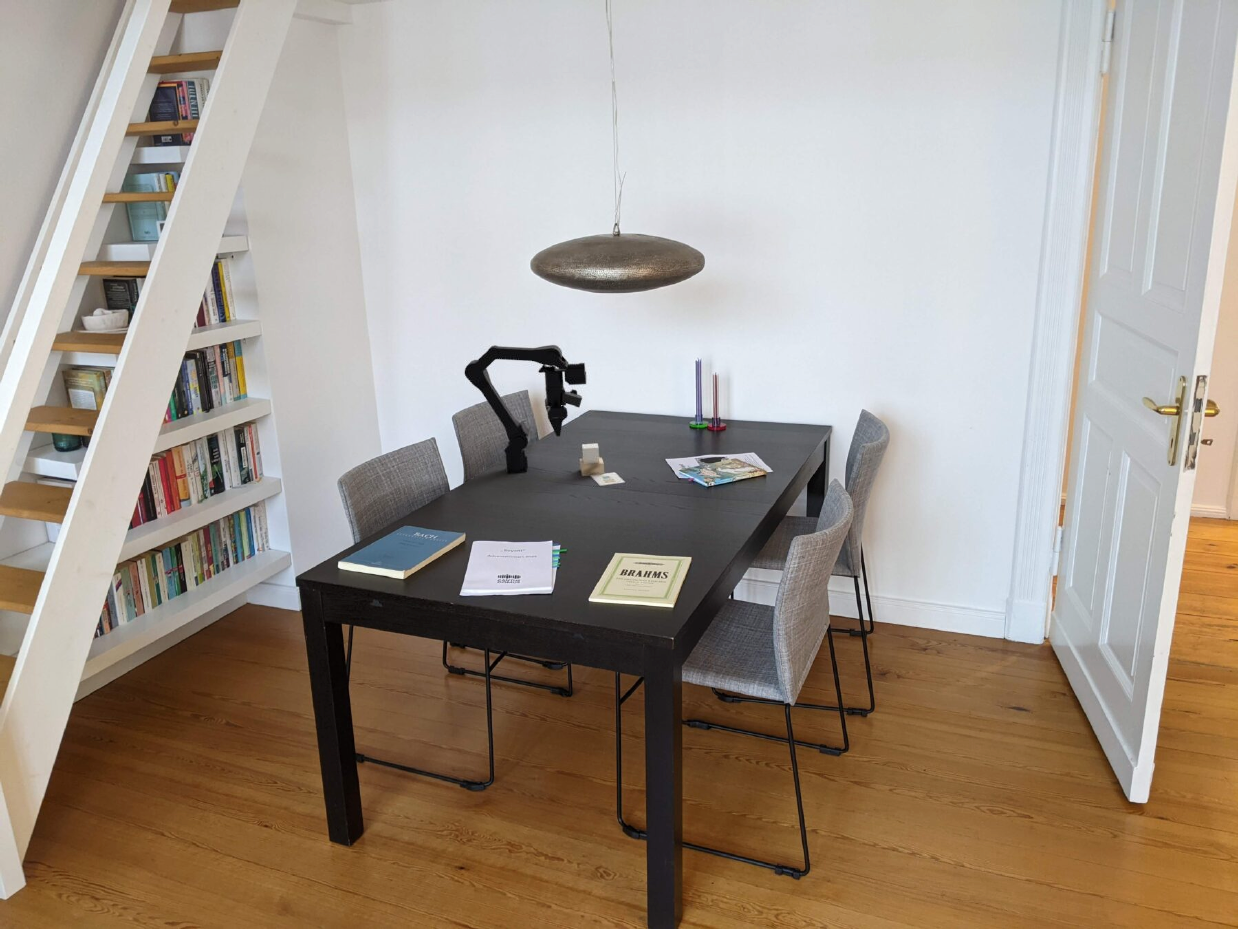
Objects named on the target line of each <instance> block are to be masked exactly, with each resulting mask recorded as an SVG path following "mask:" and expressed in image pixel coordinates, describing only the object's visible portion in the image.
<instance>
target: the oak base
mask: <svg viewBox="0 0 1238 929" xmlns="http://www.w3.org/2000/svg"><path fill="white" fill-rule="evenodd" d="M579 468H580V469H579V470H580V473H581V476H582V477H589V476H590V477H591V475H599V474H605V463H604V460H603V458H602V457H600V456H599V463H588V464H584V462H583V458H579Z"/></svg>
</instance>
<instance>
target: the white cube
mask: <svg viewBox="0 0 1238 929" xmlns="http://www.w3.org/2000/svg"><path fill="white" fill-rule="evenodd" d="M581 448H582V450H581V451H582V452H581V453H582V459H583V462H584V464H588V463H599V457H600V448H599V444H598V443H587V444H586V443H585V444H584V443H583V444H581Z"/></svg>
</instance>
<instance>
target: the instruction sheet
mask: <svg viewBox="0 0 1238 929" xmlns="http://www.w3.org/2000/svg"><path fill="white" fill-rule="evenodd" d="M590 477H591V478H592V480H594V481H595V482H596V483H597V484H598V486H600V487H603V486H609V485H611V486H612V485H619V484H624V483H626V481H625V480H623V478H622V477H620V475H618V474H617V473H616V472H607V473H606V472H605V473H604V474H599V475H590Z"/></svg>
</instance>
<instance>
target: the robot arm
mask: <svg viewBox="0 0 1238 929" xmlns="http://www.w3.org/2000/svg"><path fill="white" fill-rule="evenodd" d="M495 360H502V361H503V360H505V361H506V360H507V361H522V362H524V361H525V362H526V361H528V362H535V363H538V364H540V365H541V367H540V368H539V369H538V371H537V372H538V373H539V374H542V373H543V374H544V380H545V381H544V382H545V387H544V388H545V397H546V398H545V399H544V406H545V410H546V414H547V419H548V420H549V423H550V425H551V427H552V430H553V431H554V433H555V435H556V436H555V437H557V438H558V437H561V433H562V428H563V422H564V420H566V419H567V418H568V414H569V412H568V408H567V407H566V406H567V405H570V406H574V407H575V408H580V406H581V403H582V401H583V397H582V395H580V394H578V391H577V390H576V389H573V388H572V389H571V390H570V391H566V390H565V387H564V382H565V383H566V384H568V386H575V385H576V386H578V385H587V371H586V365H585V364H586V363H585V362H580V363H579V362H578V363H569V360H567V359H566V358H565V357H564V355H563V350H562V349H561V348H560V347H559V346H558V345H555V344H551V345H543V346H538V347H519V346H518V347H517V346H500V345H492V346H489V348H488V349H487V351H486V352H485V353H484V354H482V355H481V356H480V357H479V358H478V359H474V360H471V361H470V362H469V363H468V364H467V365H466V366H465V368H464V372H463V373H464V376H465V378H466V379H467V380H468V381H469V382H470V383H471V384H472V385H473V386H474V387H475V388H477V389H478V390H479V391H480V392H481V393H482V395H483V396H484V398H485V400H486V401H487V403H488V404H489V407H491V409H492V411H493V412H494V413H495V415H496V416H497V418H498V420H499V421H500V423H501V424H502V426H503V427H504V430H505V433H506V437H507V439H508V442H507V444H506V446H505V447H504V453H505V462H506V467H505V468H506V474H515V473H526V472H527V471H528V468H529V463H528V455H527V454H526V451H525V449H526V448H527V446H528V444H529V443H530V439H531V434H530V432H531V431H530V428H528V427H527V425H526V423H525V421H524V420H521V422H520V421H518V420H517V419H516V418H515V417H514V415H513V414H512V412H511V410H510V409H509V407H508V406H507V405H506V403H505V402H504V400H503V399H502V397H501V395H500V394H499V392H498V391H497V389H496V388H495V386H494V384H493V383H492V381H491V378H490V374H489V371H488V369H487V368H488V367H489V366H491V364H492V363H494V361H495Z"/></svg>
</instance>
